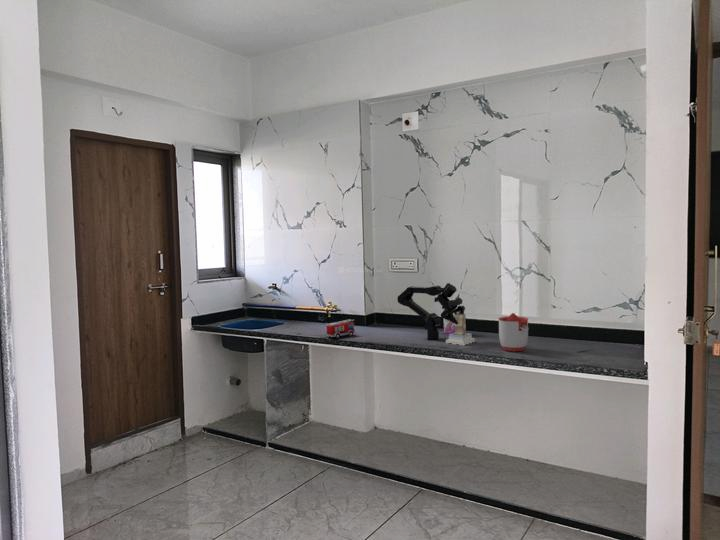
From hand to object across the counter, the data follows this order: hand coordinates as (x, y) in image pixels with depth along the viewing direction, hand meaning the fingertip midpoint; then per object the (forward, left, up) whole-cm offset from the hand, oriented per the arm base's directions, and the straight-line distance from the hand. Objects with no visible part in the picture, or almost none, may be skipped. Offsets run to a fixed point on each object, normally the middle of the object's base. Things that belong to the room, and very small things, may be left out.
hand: (461, 322), depth 320 cm
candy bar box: (0, +28, -12) cm, 30 cm away
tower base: (-1, +1, -12) cm, 12 cm away
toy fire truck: (-70, +35, -12) cm, 80 cm away
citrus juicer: (+23, -24, -12) cm, 35 cm away
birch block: (-1, +1, -8) cm, 8 cm away
